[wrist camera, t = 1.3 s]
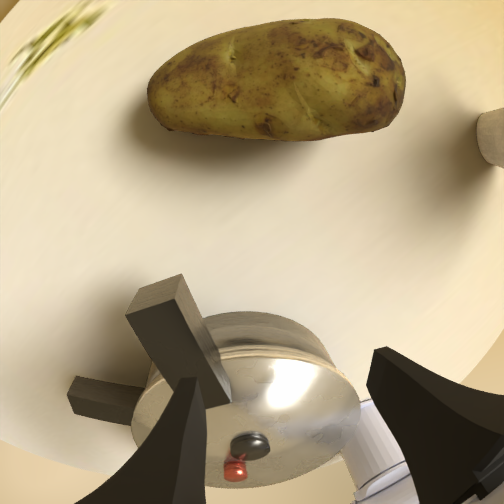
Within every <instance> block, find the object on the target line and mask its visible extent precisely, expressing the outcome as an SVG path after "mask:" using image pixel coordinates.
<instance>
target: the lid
mask: <svg viewBox="0 0 504 504" xmlns="http://www.w3.org/2000/svg"><path fill="white" fill-rule="evenodd" d="M125 316H126V318H127V320H128V321H129V323H130V325H131V327H132V328H133V330H134V332H135V333H136V335H137V337H138V338H139V340H140V342H141V343H142V345H143V347H144V348H145V350H146V351H147V353H148V355H149V356H150V358H151V359H152V361H153V362H154V364H155V365H156V367H157V368H158V370H159V371H160V373H161V374H162V376H161V377H159V378H158V379H156V380H155V381H154V382H153V383H152V384H150V385H149V386H148V387H147V388H146V389H145V391H144V392H143V393H142V394H141V396H140V397H139V399H138V401H137V403H136V405H135V409H134V413H133V418H132V422H131V427H132V434H133V438H134V441H135V443H136V445H137V447H138V448H139V447H140V446H141V444H142V443H143V442H144V440H145V439H146V438H147V436H148V435H149V433H150V432H151V430H152V429H153V427H154V426H155V424H156V423H157V421H158V420H159V418H160V416H161V414H162V413H163V411H164V409H165V408H166V406H167V404H168V402H169V400H170V398H171V396H172V394H173V392H174V390H175V388H176V386H177V384H178V381H179V380H180V379H181V378H189V377H197V378H198V382H199V386H200V391H201V395H202V398H203V402H204V406H205V410H206V421H207V447H206V465H205V486H210V487H218V488H253V487H261V486H267V485H272V484H276V483H280V482H284V481H287V480H290V479H293V478H296V477H298V476H301V475H303V474H305V473H307V472H310V471H312V470H313V469H315V468H317V467H319V466H321V465H322V464H324V463H325V462H327V461H328V460H330V459H331V458H332V457H333V456H334V455H336V454H337V453H338V452H339V451H340V450H341V449H342V448H343V447H344V446H345V445H346V444H347V442H348V441H349V440H350V439H351V437H352V436H353V434H354V432H355V431H356V428H357V426H358V423H359V420H360V415H361V405H360V400H359V397H358V395H357V393H356V391H355V389H354V387H353V386H352V384H351V382H350V381H349V380H348V379H347V377H346V376H345V375H344V374H343V373H341V372H340V371H339V370H338V369H336V368H335V367H333V366H331V365H329V364H328V363H326V362H324V361H321V360H318V359H315V358H313V357H310V356H305V355H301V354H297V353H290V352H282V351H261V350H256V351H240V352H232V353H225V354H220V352H219V350H218V348H217V346H216V344H215V342H214V340H213V338H212V336H211V334H210V332H209V330H208V328H207V326H206V324H205V322H204V320H203V318H202V316H201V314H200V312H199V310H198V308H197V306H196V303H195V301H194V299H193V297H192V295H191V293H190V291H189V288H188V286H187V284H186V282H185V280H184V277H183V275H182V274H179V275H176V276H173V277H170V278H168V279H165V280H162V281H159V282H156V283H154V284H151V285H148V286H145V287H142V288H140V289H139V290H138V292H137V294H136V295H135V297H134V299H133V301H132V303H131V305H130V306H129V308H128V310H127V312H126V314H125Z"/></svg>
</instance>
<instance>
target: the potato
mask: <svg viewBox="0 0 504 504" xmlns="http://www.w3.org/2000/svg"><path fill="white" fill-rule="evenodd" d="M405 85H406V77H405V71H404V68H403V65H402V62H401V59H400V58H399V56H398V55H397V54H396V53H395V51H394V49H393V48H392V46H391V45H390V44H389V43H388V42H387V41H386V40H385V39H384V38H383V37H382V36H381V35H380V34H378V33H376V32H375V31H373V30H371V29H369V28H367V27H364V26H362V25H360V24H358V23H355V22H352V21H348V20H343V19H335V18H323V19H296V20H282V21H276V22H270V23H265V24H261V25H256V26H250V27H244V28H240V29H236V30H232V31H228V32H225V33H221V34H218V35H215V36H212V37H209V38H207V39H204V40H202V41H200V42H197V43H195V44H193V45H191V46H189V47H188V48H186V49H184V50H183V51H181V52H179V53H178V54H176V55H175V56H173V57H172V58H171V59H169V60H168V61H167V62H165V63H164V64H163V65H162V66H161V67H160V68H159V69H158V70H157V71H156V72H155V73H154V75H153V76H152V78H151V79H150V81H149V84H148V88H147V96H148V102H149V107H150V110H151V112H152V114H153V115H154V116H155V118H156V119H157V120H158V121H159V122H160V123H161V125H162V126H164V127H165V128H167V129H168V130H169V131H175V130H177V131H182V132H190V133H193V134H197V135H209V134H214V135H223V136H225V137H235V138H240V139H245V138H251V139H269V140H281V141H316V140H322V139H326V138H330V137H336V136H341V135H347V134H357V133H366V132H374V131H376V130H379V129H382V128H384V127H387V126H389V124H390V123H391V122H392V121H393V119H394V118H395V117H396V116H397V115H398V113H399V111H400V108H401V106H402V103H403V99H404V93H405Z"/></svg>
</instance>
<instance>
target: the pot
mask: <svg viewBox="0 0 504 504" xmlns="http://www.w3.org/2000/svg"><path fill="white" fill-rule="evenodd" d="M203 320H204V322H205V324H206V326H207V328H208V330H209V332H210V334H211V336H212V338H213V340H214V342H215V344H216V346H217V348H218V350H219V352H220V354H225V353H232V352H240V351H256V350H261V351H282V352H290V353H297V354H301V355H305V356H310V357H313V358H315V359H318V360H321V361H324V362H326V363H328V364H329V365H331V366H333V367H335V365H334V363H333V361H332V360H331V358H330V356H329V354H328V353H327V351H326V349H325V347H324V346H323V344H322V343H321V341H320V340H319V339H318V338H317V337H316V336H315V335H314V334H313V333H312V332H311V331H310V330H308V329H307V328H305V327H304V326H303V325H301V324H299V323H297V322H295V321H293V320H290V319H288V318H285V317H282V316H278V315H274V314H269V313H262V312H231V313H223V314H218V315H214V316H209V317H207V318H204V319H203ZM335 368H336V367H335ZM161 376H162V374H161V373H160V371H159V370H158V368H157V367H156V365H155V364H154V362H153V361H152V364H151V367H150V371H149V375H148V379H147V383H146V387H145V388H141V387H134V386H127V385H121V384H115V383H109V382H104V381H99V380H94V379H89V378H84V377H79V376H76V377H75V379H74V381H73V383H72V385H71V387H70V389H69V391H68V393H67V397H68V399H69V402H70V404H71V407H72V409H73V412H74V414H77V415H81V416H85V417H89V418H94V419H98V420H103V421H108V422H113V423H118V424H123V425H129V426H131V422H132V418H133V413H134V409H135V405H136V403H137V401H138V399H139V397H140V396H141V394H142V393H143V392H144V391H145V389H146V388H147V387H148V386H149V385H150V384H152V383H153V382H154V381H155V380H156V379H158V378H159V377H161Z"/></svg>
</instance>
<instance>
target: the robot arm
mask: <svg viewBox="0 0 504 504" xmlns="http://www.w3.org/2000/svg"><path fill="white" fill-rule="evenodd" d="M366 386H367V388H368V391H369V393H370V396H371V398H372V399H371V400H368V401H365V402H361V403H360V405H361V415H360V420H359V423H358V426H357V428H356V431H355V432H354V434H353V436H352V437H351V439H350V440H349V441H348V442H347V444H346V445H345V446H344V447H343V448H342V449H341V450H340V451H341V454H342V456H343V459H344V461H345V463H346V465H347V468H348V470H349V473H350V475H351V478H352V480H353V482H354V485H355V487H356V489H357V491H356V492H354V493H353V494H354V496H355V499H356V500H354V501H352V502H351V503H350V504H504V395H498V394H492V393H488V392H484V391H479V390H476V389H472V388H469V387H466V386H464V385H461V384H458V383H455V382H453V381H451V380H448V379H446V378H444V377H442V376H440V375H438V374H436V373H434V372H432V371H430V370H428V369H426V368H424V367H422V366H421V365H419V364H417V363H415V362H414V361H412V360H410V359H408V358H407V357H405V356H403V355H401V354H400V353H398V352H396V351H394V350H393V349H391V348H389V347H387V346H386V347H382V348H379V349H375V350H374V353H373V358H372V362H371V367H370V371H369V375H368V380H367V384H366ZM206 447H207V421H206V410H205V406H204V402H203V398H202V395H201V391H200V386H199V382H198V378H197V377H189V378H181V379H180V380H179V381H178V384H177V386H176V388H175V390H174V392H173V394H172V396H171V398H170V400H169V402H168V404H167V406H166V408H165V409H164V411H163V413H162V414H161V416H160V418H159V420H158V421H157V423H156V424H155V426H154V427H153V429H152V430H151V432H150V433H149V435H148V436H147V438H146V439H145V440H144V442H143V443H142V444H141V446H140V447H139V448H138V449H137V451H136V452H135V453H134V454H133V455H132V457H131V458H130V459H129V460H128V461H127V462H126V463H125V464H124V465H123V466H122V467H121V468H120V469H119V470H118V471H117V472H116V473H115V474H114V475H113V476H112V477H110V479H108V480H107V481H106V482H105V483H103V484H102V485H101V486H100V487H98V488H97V489H96V490H95V491H93V492H92V493H90V494H89V495H87V496H86V497H84V498H83V499H81V500H79V501H78V502H76V503H75V504H206V499H205V465H206Z"/></svg>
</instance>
